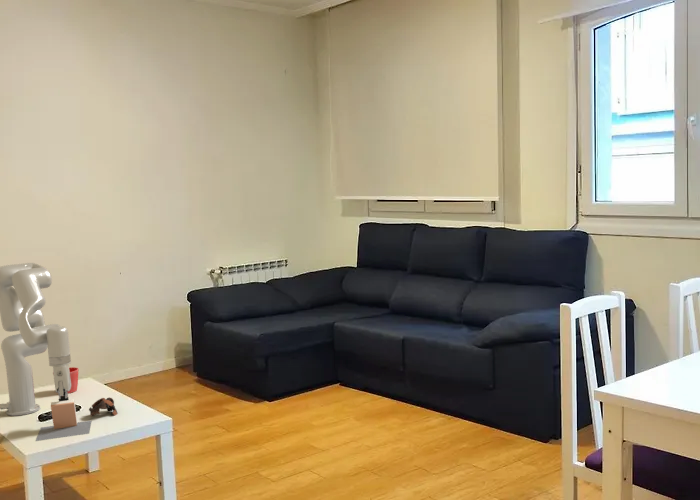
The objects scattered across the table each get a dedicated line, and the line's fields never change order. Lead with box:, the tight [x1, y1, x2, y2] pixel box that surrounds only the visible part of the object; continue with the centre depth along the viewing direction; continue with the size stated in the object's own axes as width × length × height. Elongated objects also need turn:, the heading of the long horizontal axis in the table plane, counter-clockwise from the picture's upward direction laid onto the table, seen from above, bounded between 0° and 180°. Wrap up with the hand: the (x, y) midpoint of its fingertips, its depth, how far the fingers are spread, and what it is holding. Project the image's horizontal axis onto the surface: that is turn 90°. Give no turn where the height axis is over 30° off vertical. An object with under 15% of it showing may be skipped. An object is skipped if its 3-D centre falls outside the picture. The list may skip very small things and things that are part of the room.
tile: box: [50, 399, 78, 429], centre depth 274 cm, size 8×2×10 cm, turn 106°
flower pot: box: [52, 366, 79, 394], centre depth 329 cm, size 11×11×10 cm
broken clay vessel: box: [88, 397, 119, 417], centre depth 289 cm, size 12×9×8 cm
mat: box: [35, 420, 92, 442], centre depth 272 cm, size 18×16×1 cm
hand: (64, 408), depth 276 cm, fingers closed
